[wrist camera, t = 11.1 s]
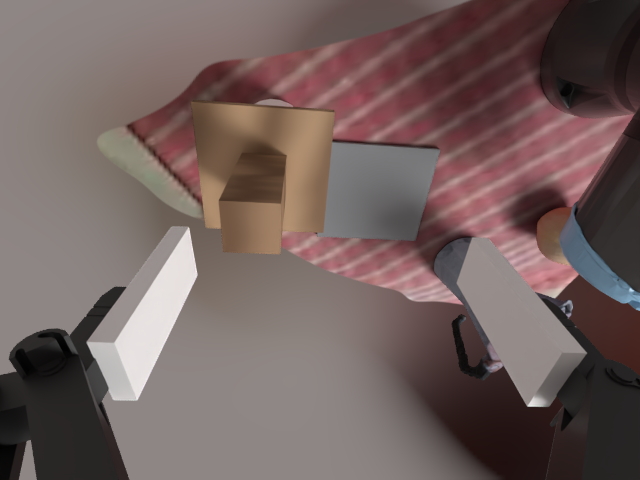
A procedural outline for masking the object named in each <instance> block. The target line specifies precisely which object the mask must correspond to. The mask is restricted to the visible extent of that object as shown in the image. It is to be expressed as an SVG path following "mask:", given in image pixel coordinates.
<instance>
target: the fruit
mask: <svg viewBox="0 0 640 480" xmlns="http://www.w3.org/2000/svg"><path fill="white" fill-rule="evenodd" d="M571 210H572V207H563V208H556V209H553V210H551V211H549V212H548V213H546V214H545V215H543V216H542V217H541V218H540V219H539V221H538V224H537V236H536V240H537V244H538V248H539V250H540V251H541V252H542V254H543V255H544V256H545V257H546V258H548V259H550V260H551V261H553V262H556V263H559V264H563V265H569V266H571V265H570V264H569V262H568V261H567V260H566V258H565V257H564V255H563V253H562V249H561V247H560V243H559V237H560V233H561V231H562V229H563V227H564V226H565V224H566V222H567V220H568V219H569V217H570V215H571Z"/></svg>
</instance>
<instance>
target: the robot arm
mask: <svg viewBox="0 0 640 480" xmlns="http://www.w3.org/2000/svg"><path fill="white" fill-rule="evenodd" d="M541 81H542V86H543V89H544V92H545V94H546V96H547V98H548V99H549V101H550V102H551V103H552V104H553V105H554V106H555V107H556V108H557V109H559V110H561V111H563V112H565V113H568V114H571V115H575V116H578V117H582V118H605V117H614V116H622V115H630V114H634V116H633V118H632V120H631V121H630V123H629V124H628V126H627V127H626V129H625V130H624V132H623V133H622V135H621V136H620V138H619V139H618V141H617V142H616V144H615V146H614V147H613V149H612V150H611V152H610V153H609V155H608V157H607V158H606V160H605V161H604V163H603V164H602V166H601V167H600V169H599V170H598V172H597V173H596V175H595V176H594V178H593V179H592V181H591V183H590V184H589V186H588V187H587V189H586V190H585V192H584V193H583V195H582V196H581V198H580V199H579V200H578V201H577V202H576V203H575V204H574V205H573V207H572V210H571V215H570V217H569V219H568V220H567V222H566V224H565V226H564V227H563V229H562V231H561V233H560V237H559V243H560V247H561V249H562V253H563V255H564V257H565V258H566V260H567V261H568V262H569V264H570V265H571V266H572V267H573V268H574V269H575V270H576V271H577V272H578V273H579V274H580V275H581V276H582V277H583V278H584V279H586V280H587V281H588V282H589V283H591V284H592V285H593V286H595V287H596V288H597V289H599V290H600V291H602V292H603V293H605V294H606V295H608V296H610V297H612V298H613V299H615V300H617V301H619V302H621V303H629V304H630V305H631V306H632V307H633V308H635V309H637V310H639V311H640V0H571V1H570V2H569V4H568V5H567V6H566V7H565V9H564V10H563V11H562V13H561V14H560V16H559V17H558V19H557V21H556V22H555V24H554V26H553V28H552V30H551V32H550V34H549V37H548V39H547V42H546V45H545V48H544V51H543V56H542V62H541ZM196 277H197V270H196V264H195V259H194V253H193V247H192V242H191V236H190V230H189V227H176V226H172V227H171V228H170V229H169V231H168V232H167V233H166V235H165V236H164V237H163V239H162V240H161V241H160V243H159V244H158V246H157V247H156V248H155V250H154V251H153V252H152V254H151V255H150V257H149V258H148V259H147V260H146V262H145V263H144V265H143V266H142V267H141V269H140V270H139V271H138V273H137V274H136V276H135V277H134V278H133V280H132V281H131V282H130V284H129V285H128V286H127V287H114V288H112V289H111V290H110V291H108V292H107V293H105V294H104V295H102V296H101V297H100V299H99V300H98V301H97V302H96V304H95V305H94V308H92V309H91V310H90V311H89V313H88V314H87V316H86V317H84V319H83V320H82V321H81V322H80V323H79V325H78V326H77V327H76V328H75V330H74V331H73V332H72V333H71V335H70V336H69V335H68V334H67V332H66V331H65V330H61V329H47V330H43V331H40V332H36V333H34V334H32V335H30V336H28V337H26V338H25V339H23V340H22V341H21V342H19V343H18V344H17V345H16V346H15V347H14V348H13V350H12V351H11V352H10V356H9V360H10V361H11V363H12V364H13V366H14V368H15V369H16V371H17V372H12V373H8V374H3V375H0V480H19V476H20V471H21V466H22V461H23V456H24V452H25V446H26V442H27V441H28V440H31V443H32V450H33V456H34V464H35V470H36V477H37V480H129V477H128V474H127V471H126V468H125V466H124V463H123V460H122V457H121V454H120V451H119V448H118V446H117V442H116V439H115V437H114V434H113V431H112V428H111V425H110V422H109V419H108V416H107V413H106V410H105V408H104V405H103V403H102V400H103V398H104V396H105V394H106V393H107V391H108V390H109V392H110V394H111V396H112V398H113V400H134V401H137V400H138V398H139V396H140V394H141V392H142V390H143V388H144V386H145V383H146V381H147V379H148V377H149V375H150V373H151V371H152V368H153V367H154V365H155V362H156V360H157V358H158V356H159V354H160V352H161V350H162V348H163V346H164V344H165V342H166V340H167V338H168V336H169V333H170V331H171V329H172V327H173V325H174V323H175V321H176V319H177V317H178V315H179V312H180V310H181V308H182V306H183V304H184V302H185V300H186V298H187V296H188V294H189V292H190V290H191V288H192V286H193V283H194V281H195V279H196ZM457 285H458V287H459V288H460V290H461V292H462V294H463V295H464V297H465V299H466V300H467V302H468V304H469V306H470V307H471V309H472V311H473V313H474V314H475V316H476V318H477V320H478V321H479V323H480V325H481V327H482V328H483V330H484V332H485V334H486V335H487V337H488V339H489V340H490V342H491V344H492V346H493V347H494V349H495V351H496V353H497V354H498V356H499V358H500V360H501V361H502V363H503V365H504V366H505V368H506V370H507V372H508V373H509V375H510V377H511V379H512V380H513V382H514V384H515V385H516V387H517V389H518V391H519V392H520V394H521V396H522V398H523V399H524V401H525V403H526V405H527V406H539V407H540V406H541V407H549V406H550V404H551V403H552V402H553V400H554V399H555V397H556V396H557V397H558V398H559V399H560V401H561V402H562V404H563V405H564V406H563V407H562V408H561V410H560V411H559V412H558V414H557V415H556V416H555V418H554V419H553V420H552V422H551V424H550V425H551V426H552V427H554V425H555V424H556V423H557V425H556V430H555V436H554V441H553V446H552V451H551V456H550V461H549V466H548V471H547V476H546V480H640V376H639V375H638V374H637V373H636V372H634V371H633V370H632V369H631V368H629V367H627V366H625V365H623V364H622V363H619V362H616V361H613V360H609V359H605V358H604V356H603V355H602V354H601V353H600V352H599V351H598V350H597V349H596V348H595V346H594V345H593V344H592V343H591V342H590V341H589V340H588V339H587V338H586V336H585V335H584V334H583V333H582V332H581V331H580V330H579V329H577V328H576V325H575V324H574V323H573V322H572V321H571V320H569V318H568V316H567V315H566V314H565V313H564V312H563V311H562V310H561V309H560V308H559V307H558V306H557V305H555V304H554V303H552V302H551V301H549V300H548V299H547V298H539V297H538V295H537V294H536V293H535V292H534V291H533V290H532V288H531V287H530V286H529V285H528V284H527V283H526V281H525V280H524V279H523V278H522V277H521V276H520V274H519V273H518V272H517V271H516V270H515V269H514V267H513V266H512V265H511V264H510V263H509V262H508V260H507V259H506V258H505V257H504V256H503V255H502V253H501V252H500V251H499V250H498V249H497V248H496V246H495V245H494V244H493V243H492V242H491V241H490V239H489V238H476V237H472V240H471V243H470V246H469V248H468V251H467V254H466V257H465V260H464V263H463V266H462V269H461V272H460V275H459V277H458V280H457Z"/></svg>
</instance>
